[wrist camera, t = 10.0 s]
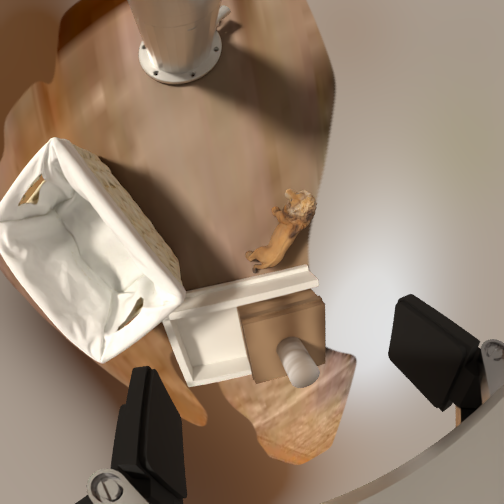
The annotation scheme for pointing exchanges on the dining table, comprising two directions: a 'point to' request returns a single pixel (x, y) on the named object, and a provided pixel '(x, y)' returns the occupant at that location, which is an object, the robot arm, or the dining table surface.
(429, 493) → the robot arm
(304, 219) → the lion figurine
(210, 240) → the dining table surface
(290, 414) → the dining table surface
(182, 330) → the bay
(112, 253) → the storage basket
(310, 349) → the tan block with peg
